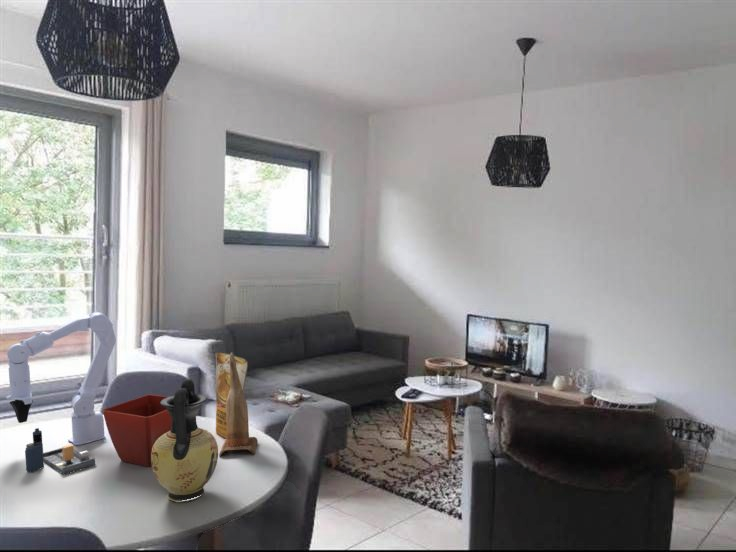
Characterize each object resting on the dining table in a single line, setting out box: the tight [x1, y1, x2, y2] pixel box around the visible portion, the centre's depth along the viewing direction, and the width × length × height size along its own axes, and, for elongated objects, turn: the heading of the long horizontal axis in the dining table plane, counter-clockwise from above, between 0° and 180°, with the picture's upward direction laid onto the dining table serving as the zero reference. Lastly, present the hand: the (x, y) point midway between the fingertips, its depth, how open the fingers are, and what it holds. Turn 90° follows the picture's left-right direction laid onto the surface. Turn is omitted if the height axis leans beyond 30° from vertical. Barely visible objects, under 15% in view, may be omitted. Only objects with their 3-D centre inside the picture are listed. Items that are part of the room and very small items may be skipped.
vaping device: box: [24, 428, 45, 473], centre depth 170 cm, size 3×5×12 cm, turn 161°
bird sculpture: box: [218, 352, 259, 458], centre depth 181 cm, size 11×12×32 cm
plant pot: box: [102, 394, 172, 468], centre depth 177 cm, size 19×19×17 cm
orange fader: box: [61, 443, 75, 463], centre depth 172 cm, size 3×2×5 cm
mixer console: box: [43, 447, 96, 475], centre depth 175 cm, size 9×18×4 cm, turn 48°
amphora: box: [151, 378, 219, 502], centre depth 149 cm, size 18×17×30 cm
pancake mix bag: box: [214, 352, 249, 440], centre depth 195 cm, size 7×19×28 cm, turn 41°
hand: (22, 421), depth 184 cm, fingers closed
